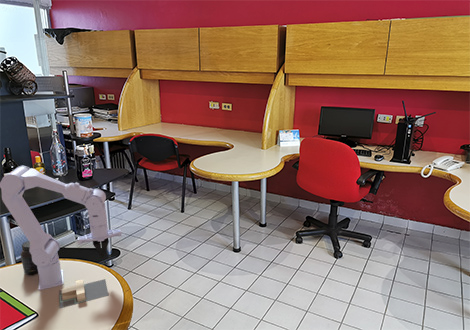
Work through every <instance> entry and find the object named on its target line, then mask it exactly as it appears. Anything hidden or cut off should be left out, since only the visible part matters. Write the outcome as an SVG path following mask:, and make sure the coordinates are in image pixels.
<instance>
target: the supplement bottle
mask: <svg viewBox="0 0 470 330" xmlns="http://www.w3.org/2000/svg"><path fill="white" fill-rule="evenodd" d="M21 248H22V249H21V252H20V259H21V265H22V268H23V272H24V274H25V276H28V277H29V276H32V277H33V276H35V275H39V274H38V269H37V265H35V264H34V263H33V261H32V255H31V253H30V251H29V250H30V242H29V240H27V241H25V242H24V243H22V244H21Z"/></svg>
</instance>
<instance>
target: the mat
mask: <svg viewBox="0 0 470 330" xmlns="http://www.w3.org/2000/svg"><path fill="white" fill-rule="evenodd" d="M107 286H108V285H107V282H106V279H105V278H104V279H100V280H97V281H92V282H87V283H84V289H85V298H86V300H83V301H79V302H78V300H77V297H75V298H71V299H68V300H64V301H63V298H62V289H60V290H58V309H59V310H60V309H63V308H67V307H70V306H75V305H78V304H82V303H86V302H90V301H92V300H97V299H100V298H104V297H108V296H109V291H108V287H107Z"/></svg>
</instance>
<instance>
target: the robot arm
mask: <svg viewBox="0 0 470 330" xmlns="http://www.w3.org/2000/svg"><path fill="white" fill-rule="evenodd" d="M34 188H41V189H45V190H49V191H52V192H56V193H59V194H62V196H63V198H64V199H67V200H69V201H72V202H75V203H78V204H80V205H83V206H84V207H85V208H86V210H87V211H88V220H89V227H90V228H89V230H90V233H88V234H85V235H82V236H78V237H77V243H78V245H83V244H84V243H90V242H92V246H93V247H94V248H95V249H96V251H97V252H98V253H99V256H100V259H104V258H106V256H105V255H106V251H107V248H108V245H109V243H110V240H109V238H114V237H119V238H120V237H122V230H121V229H120V228H118V229H108V227H109V226H108V221H107V211H106V204H105V202H106V199H107V195H106V192H104V190H102V189H100V188H91V187H90V188H88V187H86V186H83V185H81V184H80V182H77V181H76V182H75V183H74V182H69V183H65V182H62V181H60V180H58V179H55V178H53V177H50V176H48V175H46V174H43V173H41V172H40V171H38V170H37V169H35V168H32V167H31V168H30V167H29V166H26V165H20V166H19V165H18V166H17V167H16V168H15V169H13V170H12V171H10V172H9V173H8V174H6V175H4V176H3V177H2V178H1V180H0V189H1V201H2V203H3V204H4V205H5V207H6V209H7V211H9V213H10V214H11V216H12V217H13V219H14V221H15V222H16V223H17V225H18V226H19V228H20V230H21V231H22V233H23V234H24V236H25V237H26V239H27V241H29V242H30V250H29V251H30V253H31V255H32V261H33V263H34V264H35V265H37V269H38V274H37V275H38V278H39V280H38V290H39V291H41V290H47V289H50V288H55V287H58V286H59V287H60V286H63V285H64V284H65V283H64V269H62V268H61V262H60V258H59V257H60V256H59V254H58V251H59V250H60V248H61V245H60V242H59V241H58V240H57V239H56V238H54V237H53V236H52V235H51V234H50V233H47V232H45V231H44V228H43V227H42V226H41V224H40V222H39V221H38V219H37V218H36V216H35V215H34V212H33V211H32V210H31V208H30V207H29V205H28V203H27V202H26V200H25V199H24V197H23V195H24V192H25V191H27V190H29V189H34Z"/></svg>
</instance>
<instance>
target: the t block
mask: <svg viewBox="0 0 470 330" xmlns="http://www.w3.org/2000/svg"><path fill="white" fill-rule="evenodd" d="M84 284H85V283H84V279H83V278H82V279H79V280H75V285H72V286H69V287H64V288H61V290H62V298H63V301H64V300H68V299H71V298H75V297H77V300H78V302H79V301H83V300H86V298H85V289H84Z"/></svg>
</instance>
